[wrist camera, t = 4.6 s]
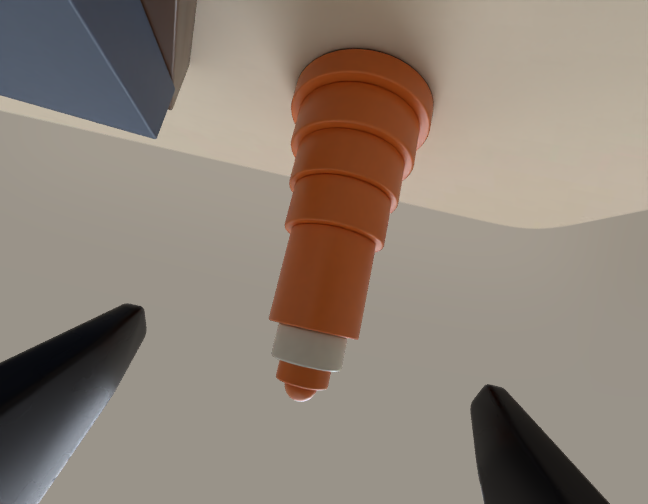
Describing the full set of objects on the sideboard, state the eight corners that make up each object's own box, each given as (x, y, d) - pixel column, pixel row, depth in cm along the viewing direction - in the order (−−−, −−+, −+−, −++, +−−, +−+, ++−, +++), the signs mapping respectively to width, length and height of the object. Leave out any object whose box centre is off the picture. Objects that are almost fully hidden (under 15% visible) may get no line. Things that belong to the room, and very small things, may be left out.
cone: (270, 92, 15) (185, 372, 12) (372, 14, 10) (274, 440, 7) (356, 157, 18) (308, 382, 15) (459, 122, 14) (417, 430, 11)
